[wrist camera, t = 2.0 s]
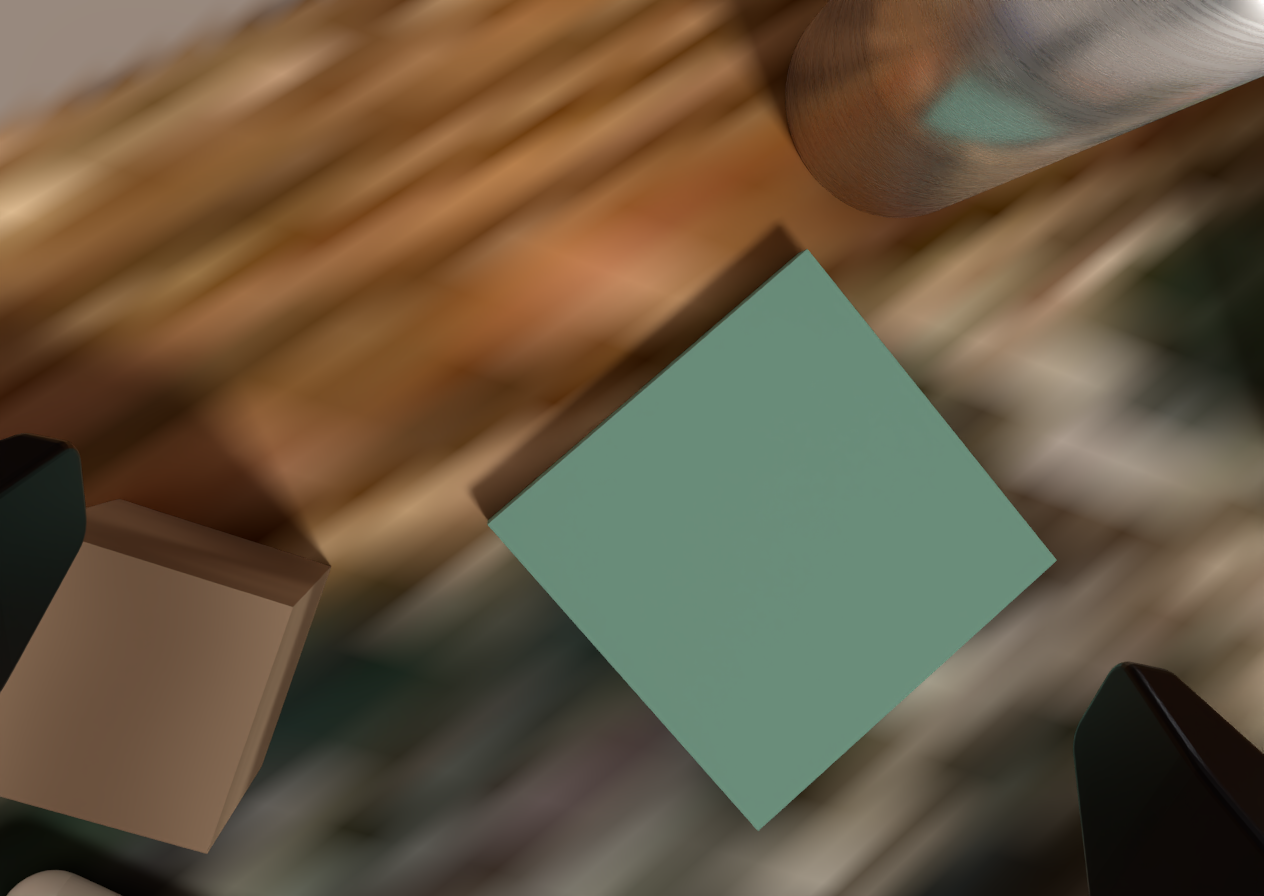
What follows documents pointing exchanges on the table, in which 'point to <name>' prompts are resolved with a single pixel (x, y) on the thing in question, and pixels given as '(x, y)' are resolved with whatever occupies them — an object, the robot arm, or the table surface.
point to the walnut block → (156, 676)
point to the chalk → (59, 885)
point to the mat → (774, 539)
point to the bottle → (996, 87)
